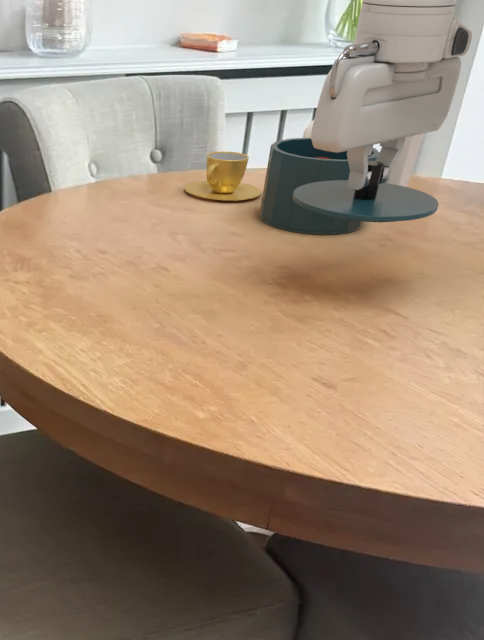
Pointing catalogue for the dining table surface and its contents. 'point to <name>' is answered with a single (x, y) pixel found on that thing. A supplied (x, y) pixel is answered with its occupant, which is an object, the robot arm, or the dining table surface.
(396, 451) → the dining table surface
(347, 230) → the tin
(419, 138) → the perfume bottle
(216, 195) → the cup
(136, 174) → the dining table surface
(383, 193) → the tin lid
